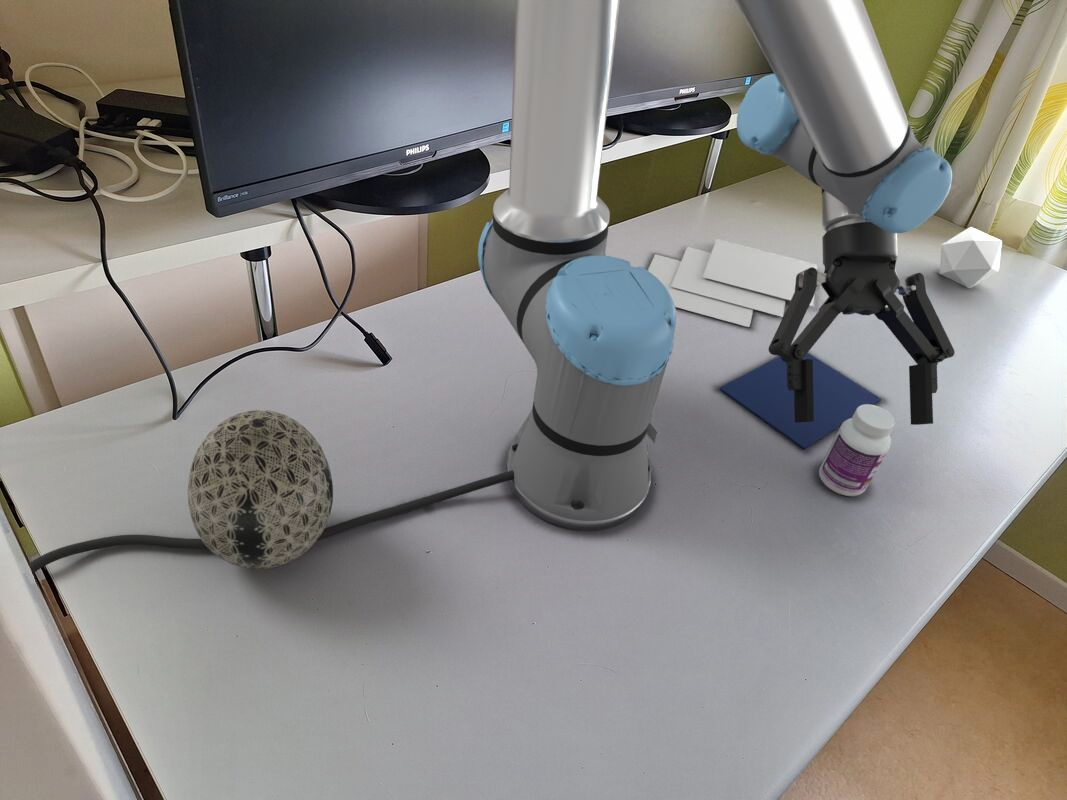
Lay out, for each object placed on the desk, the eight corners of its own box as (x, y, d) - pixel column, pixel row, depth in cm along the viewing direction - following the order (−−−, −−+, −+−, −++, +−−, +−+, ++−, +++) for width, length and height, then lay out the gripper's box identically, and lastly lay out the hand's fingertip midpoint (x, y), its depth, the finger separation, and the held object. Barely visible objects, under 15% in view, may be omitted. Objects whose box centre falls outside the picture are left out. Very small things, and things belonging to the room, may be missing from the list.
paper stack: (808, 343, 106) (810, 339, 105) (635, 296, 110) (636, 292, 110) (816, 268, 123) (817, 264, 123) (666, 229, 128) (667, 226, 127)
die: (995, 289, 127) (997, 228, 126) (1003, 285, 118) (1005, 220, 118) (938, 291, 130) (939, 232, 129) (941, 287, 122) (943, 224, 121)
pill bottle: (868, 502, 83) (906, 438, 77) (819, 491, 83) (853, 427, 77) (862, 469, 87) (897, 405, 81) (815, 458, 88) (847, 394, 81)
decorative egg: (220, 496, 74) (193, 374, 64) (344, 499, 75) (336, 381, 65) (186, 598, 65) (149, 474, 55) (327, 599, 66) (315, 479, 57)
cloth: (803, 449, 89) (804, 448, 88) (718, 389, 96) (719, 387, 96) (880, 400, 98) (881, 398, 98) (797, 348, 105) (798, 346, 105)
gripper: (939, 245, 89) (946, 426, 87) (736, 233, 85) (738, 422, 84) (986, 225, 81) (994, 423, 80) (766, 212, 78) (769, 418, 76)
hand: (863, 423), depth 82 cm, fingers open, 13 cm apart
